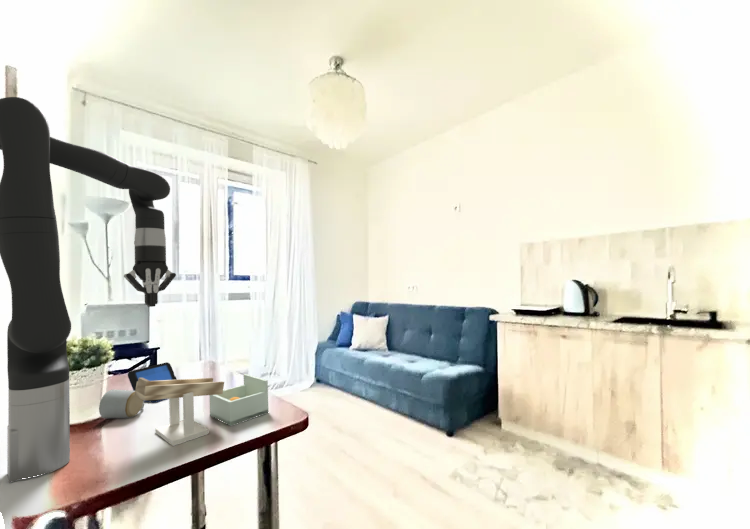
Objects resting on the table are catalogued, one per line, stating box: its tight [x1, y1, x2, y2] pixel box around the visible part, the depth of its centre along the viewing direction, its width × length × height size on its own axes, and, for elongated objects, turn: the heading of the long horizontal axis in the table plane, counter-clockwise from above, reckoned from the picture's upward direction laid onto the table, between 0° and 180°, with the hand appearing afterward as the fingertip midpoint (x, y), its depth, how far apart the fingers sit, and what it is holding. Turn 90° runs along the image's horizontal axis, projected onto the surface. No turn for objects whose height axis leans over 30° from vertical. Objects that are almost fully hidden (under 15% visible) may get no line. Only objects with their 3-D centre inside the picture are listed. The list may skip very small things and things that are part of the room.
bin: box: [209, 373, 270, 427], centre depth 99 cm, size 11×12×9 cm
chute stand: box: [154, 392, 209, 447], centre depth 88 cm, size 8×12×10 cm, turn 48°
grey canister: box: [98, 388, 145, 419], centre depth 102 cm, size 11×8×8 cm
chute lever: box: [134, 377, 225, 402], centre depth 91 cm, size 18×16×4 cm
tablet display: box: [127, 362, 178, 403], centre depth 121 cm, size 16×13×9 cm
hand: (151, 306), depth 100 cm, fingers closed
